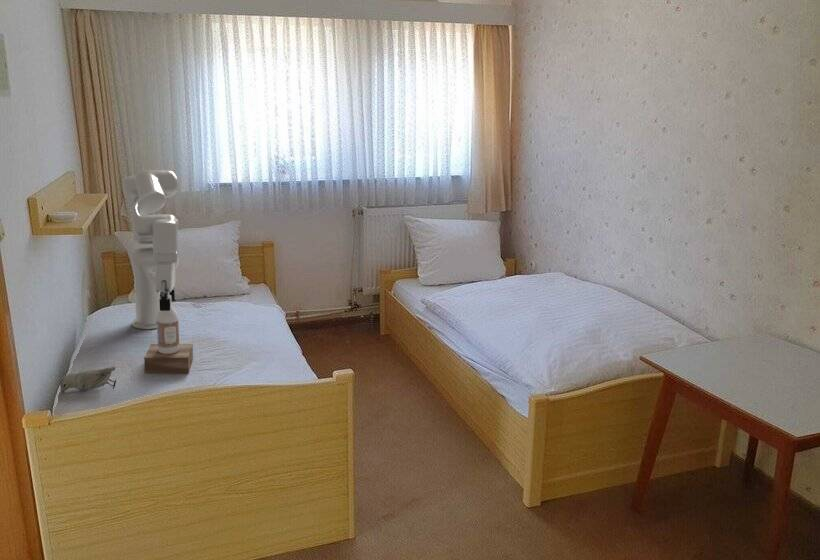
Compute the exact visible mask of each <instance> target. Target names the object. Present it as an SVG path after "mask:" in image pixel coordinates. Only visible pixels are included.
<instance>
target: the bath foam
mask: <svg viewBox="0 0 820 560" xmlns="http://www.w3.org/2000/svg"><path fill="white" fill-rule="evenodd" d="M169 299H170V311H159V312H158V315H157V328H156V335H157V344H158V351H159V352H160V353H162V354H173V353H176V352H177V351H179V344H180V327H179V326H180V325H179V314H178V312H177V311H176V309H175V308H174V307H173V306H172V304H173V303H172V302H173V301H171V295H169Z"/></svg>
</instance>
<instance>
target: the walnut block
mask: <svg viewBox="0 0 820 560" xmlns="http://www.w3.org/2000/svg"><path fill="white" fill-rule="evenodd" d="M193 347H194V345H193V343H179V351H177V352H176V353H173V354H162V353H160V352H159V351H158V343H150V345H149V347H148V349H147V351H146V354H145V356H144V358H143V360H144V361H143V362H144V375H189V374H190V371H191V368H192V367H191V366H192V364H193V360H194V351H193V350H194V348H193Z"/></svg>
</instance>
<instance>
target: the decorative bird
mask: <svg viewBox="0 0 820 560" xmlns="http://www.w3.org/2000/svg"><path fill="white" fill-rule="evenodd" d="M116 368H117V366H111V367H105V368H101V369H100V368H99V369H89V370H85V371H81V372H73V373H72V372H71V373H68V374H66V375H64V376H63V377H62V379H61V381H60V391H61V392H62V393H63V392H65V391H67V390H69V389H75V390H78V391H79V390H80V391H88V390H93V389H97V388H101V387H104V386H105V385H107V384H108V385H110V386H111V387H112V390H114V389H115V388H116V384H117V379H115V380H112V379H110V377H111V375H112V372H113V371H116ZM109 381H110V382H112V383H113V384H111V383H110V382H109Z"/></svg>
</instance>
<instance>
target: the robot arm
mask: <svg viewBox="0 0 820 560" xmlns="http://www.w3.org/2000/svg"><path fill="white" fill-rule="evenodd" d="M122 188H123V189H122V190H123V193H124V196H125V199H126V200H127V202H128V205H129V207H130V215H129V216H130V222H131V226H132V236H133V237H132V238H133V239H134V242H135V243H136V244H138V245H152V247H151V246H149V247H140V248H136V249H134V250H133V251H132V252H131V253H130V264H131V269H132V273H133V282H134V298H135V303H134V304H135V319H133V321H132V326H133V328H136V329H139V330H152V329H157V315H158V312H159V311H170V299H169V295H171V301H172V302H175V299H176V297H175V295H176V294H175V292H176V291H175V284H176V269H177V268H178V267H179V260H180V259H179V247H178V245H179V244H178V231H179V221H178V220H179V219H177V217H176V216H175V215H174V214H169V213H167V214H166V213H163V214H160V213H159V214H156V212H158V211H159V210H161V209H163V208H164V207H165V205H166V202H167V198H168V199H169V198H172V197H173V196H175V195H176V194H177V192H178V190H179V179H178V177H177V175H176V174H175V172H174V171H173V170H168V169H167V170H166V169H158V170H157V169H153V170H152V169H146V170H142V171H139V172H138V173H136V175H130V176H126V177H125V178H124V179H123V180H122ZM154 272H155V273H154Z"/></svg>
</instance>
